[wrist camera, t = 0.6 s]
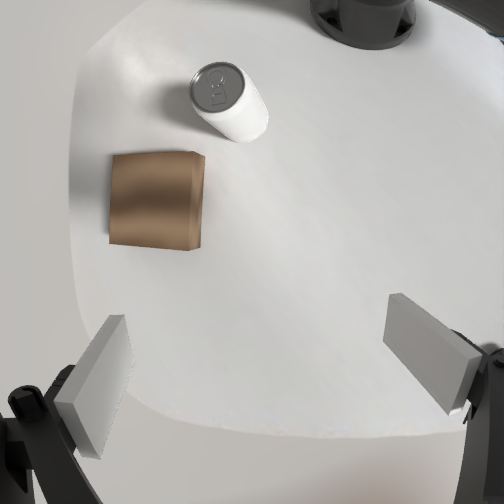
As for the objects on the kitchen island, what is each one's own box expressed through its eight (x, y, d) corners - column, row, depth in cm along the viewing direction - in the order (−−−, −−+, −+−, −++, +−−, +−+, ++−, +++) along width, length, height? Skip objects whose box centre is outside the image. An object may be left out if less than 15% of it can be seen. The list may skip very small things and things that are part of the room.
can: (266, 93, 38) (245, 52, 26) (272, 139, 38) (253, 110, 27) (218, 102, 39) (183, 66, 27) (223, 147, 40) (186, 123, 28)
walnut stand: (129, 159, 43) (113, 155, 39) (205, 156, 40) (193, 151, 36) (125, 241, 44) (109, 243, 40) (200, 247, 42) (188, 250, 38)
